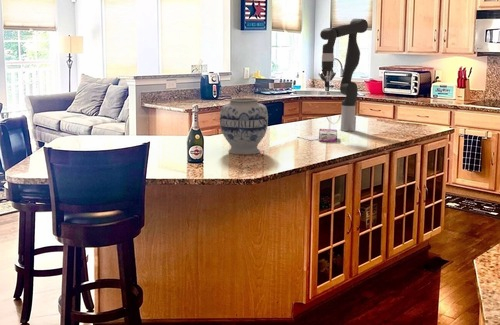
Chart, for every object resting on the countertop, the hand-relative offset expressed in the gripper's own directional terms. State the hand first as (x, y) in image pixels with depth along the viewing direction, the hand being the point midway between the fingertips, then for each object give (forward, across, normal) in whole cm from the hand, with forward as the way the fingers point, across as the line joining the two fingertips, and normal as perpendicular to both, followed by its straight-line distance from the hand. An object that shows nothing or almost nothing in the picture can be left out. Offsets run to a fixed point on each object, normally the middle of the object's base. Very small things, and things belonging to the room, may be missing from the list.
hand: (326, 87), depth 410 cm
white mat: (+31, +15, +7) cm, 35 cm away
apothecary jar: (+31, +78, +25) cm, 88 cm away
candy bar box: (+28, +6, +10) cm, 30 cm away
